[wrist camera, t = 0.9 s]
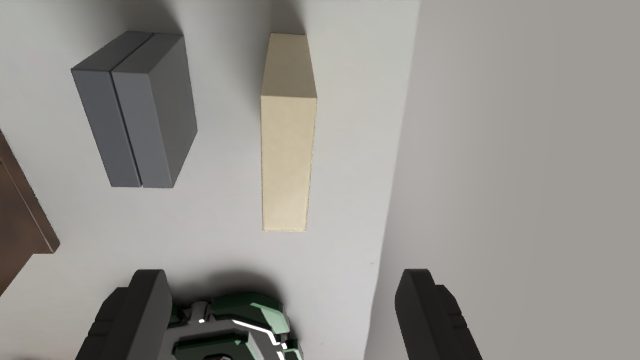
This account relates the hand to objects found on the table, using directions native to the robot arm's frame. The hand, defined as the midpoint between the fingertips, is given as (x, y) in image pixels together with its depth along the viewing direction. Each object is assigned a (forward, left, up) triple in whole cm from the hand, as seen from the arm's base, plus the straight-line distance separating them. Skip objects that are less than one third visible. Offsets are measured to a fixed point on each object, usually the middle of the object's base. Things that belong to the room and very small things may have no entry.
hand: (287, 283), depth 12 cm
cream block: (0, 0, -16) cm, 16 cm away
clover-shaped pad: (+32, -7, -17) cm, 37 cm away
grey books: (0, -8, -16) cm, 18 cm away
